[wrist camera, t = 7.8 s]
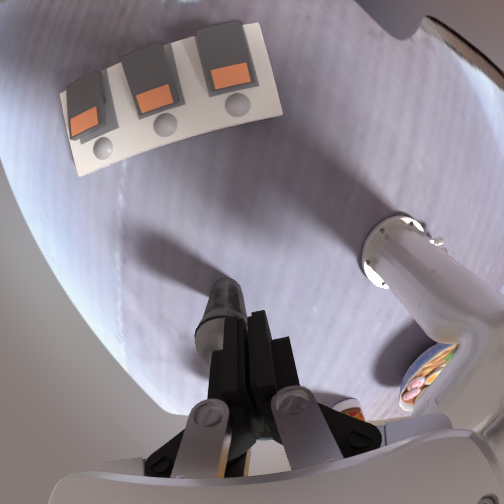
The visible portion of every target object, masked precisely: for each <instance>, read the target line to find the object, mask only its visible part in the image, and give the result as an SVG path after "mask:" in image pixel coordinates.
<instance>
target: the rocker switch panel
mask: <svg viewBox="0 0 504 504" xmlns="http://www.w3.org/2000/svg"><path fill="white" fill-rule="evenodd" d="M242 29H243V33H244V37H245V41H246V45H247V49H248V53H249V57H250V61H251V65H252V70H253V74H254V78H255V83H249V84H245V85H240V86H235V87H231V88H227V89H222V90H218V91H214V92H212V91H211V88H210V84H209V80H208V76H207V72H206V69H205V65H204V61H203V57H202V53H201V50H200V46H199V42H198V38H197V35H195V36H193V37H189V38H186V39H182V40H179V41H176V42H173V43H168V44H165V45H163V46H164V50H165V53H166V57H167V60H168V63H169V67H170V69H171V73H172V77H173V80H174V84H175V87H176V90H177V93H178V97H179V100H180V101H179V102H178V103H175V104H172V105H169V106H166V107H163V108H160V109H157V110H154V111H151V112H149V113H146V114H143V115H141V116H139V115H138V112H137V109H136V106H135V103H134V100H133V97H132V94H131V91H130V88H129V85H128V82H127V79H126V76H125V73H124V70H123V67H122V64H121V62H120V63H118V64H116V65H113V66H111V67H109V68H107V69H104V70H102V71H100V72H101V76H102V88H103V94H104V96H105V99H106V103H105V104H104V107H105V115H106V123H107V126H105V127H103V128H101V129H98V130H96V131H94V132H92V133H90V134H88V135H86V136H84V137H82V138H80V139H78V140H76V141H74V140H70V137H69V127H68V115H67V99H66V90H65V91H64V92H62V93H60V98H61V103H62V109H63V114H64V119H65V124H66V128H67V133H68V137H69V142H70V146H71V150H72V154H73V157H74V161H75V165H76V168H77V172H78V175H79V177H81V176H84V175H87V174H90V173H92V172H94V171H97V170H99V169H102V168H104V167H106V166H109V165H111V164H114V163H117V162H119V161H122V160H124V159H127V158H130V157H132V156H135V155H138V154H141V153H143V152H146V151H149V150H152V149H155V148H158V147H161V146H164V145H167V144H170V143H174V142H177V141H180V140H183V139H187V138H190V137H194V136H197V135H201V134H204V133H208V132H212V131H216V130H220V129H224V128H228V127H232V126H236V125H240V124H245V123H249V122H254V121H259V120H264V119H269V118H274V117H279V116H281V115H283V112H282V108H281V104H280V100H279V96H278V92H277V88H276V84H275V80H274V76H273V72H272V68H271V64H270V61H269V57H268V53H267V50H266V46H265V42H264V39H263V36H262V32H261V29H260V25H259V22H258V23H252V24H246V25H242Z"/></svg>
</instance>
